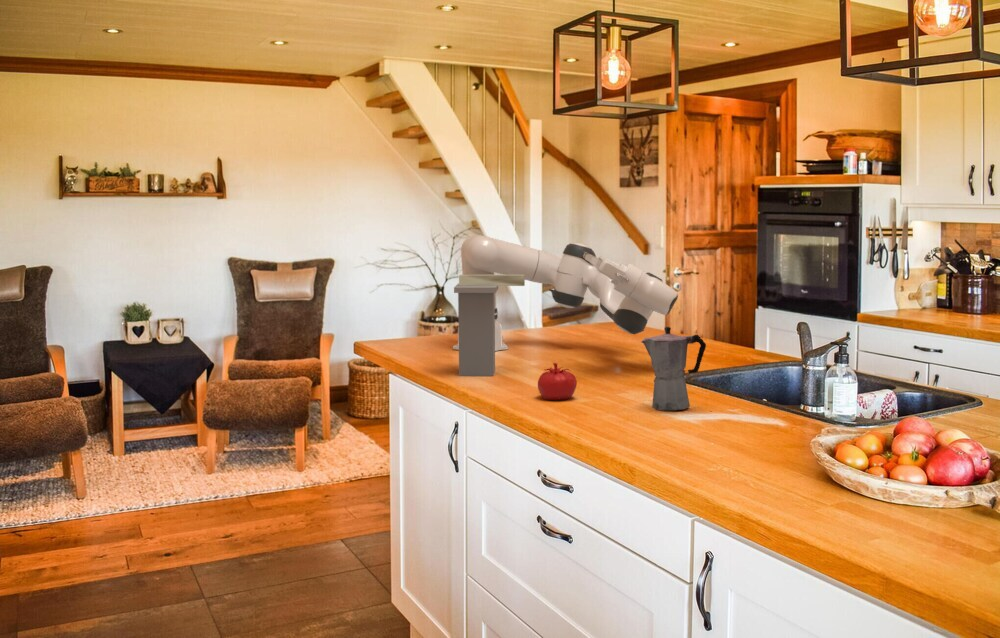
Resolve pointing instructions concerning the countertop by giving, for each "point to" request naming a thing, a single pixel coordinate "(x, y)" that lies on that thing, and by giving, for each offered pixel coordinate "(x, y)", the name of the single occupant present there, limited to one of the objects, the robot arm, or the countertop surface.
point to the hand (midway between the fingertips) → (584, 255)
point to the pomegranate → (557, 384)
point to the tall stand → (476, 330)
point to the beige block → (491, 280)
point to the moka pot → (671, 368)
